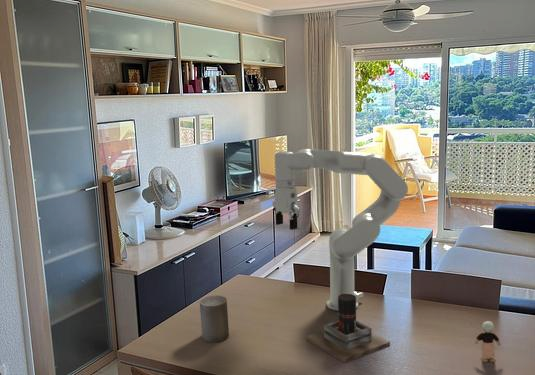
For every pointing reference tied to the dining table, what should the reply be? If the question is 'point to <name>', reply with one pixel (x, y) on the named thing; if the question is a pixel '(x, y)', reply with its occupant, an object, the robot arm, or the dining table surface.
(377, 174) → the robot arm
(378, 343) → the collar stand
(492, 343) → the grandmother figurine
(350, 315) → the deodorant
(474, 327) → the dining table surface
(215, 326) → the pillar candle
